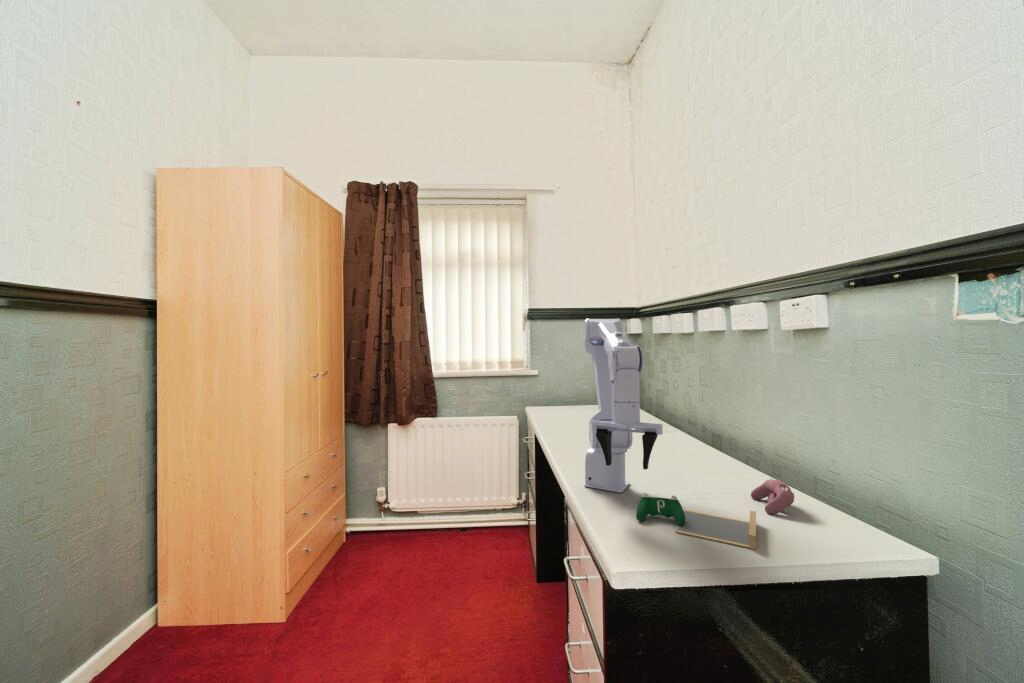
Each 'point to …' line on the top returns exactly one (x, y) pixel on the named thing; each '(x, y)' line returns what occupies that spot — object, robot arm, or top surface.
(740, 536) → the tray
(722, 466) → the top surface
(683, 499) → the top surface
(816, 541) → the top surface
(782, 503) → the video game controller
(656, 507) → the gaming controller
